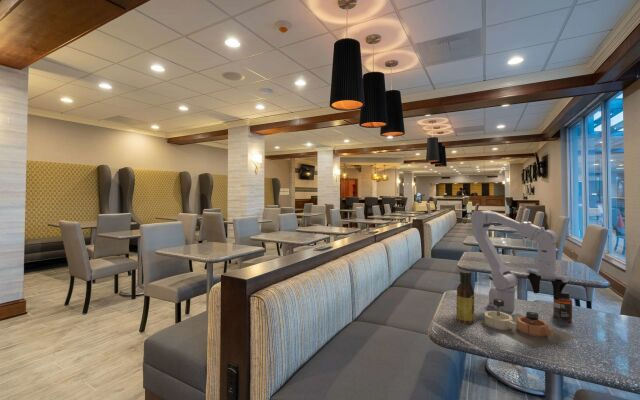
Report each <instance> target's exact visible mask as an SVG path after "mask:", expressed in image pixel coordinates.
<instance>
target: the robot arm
mask: <svg viewBox="0 0 640 400" xmlns="http://www.w3.org/2000/svg"><path fill="white" fill-rule="evenodd" d="M469 221H470V222H471V232H472V235H473V237H474V239H475V241H476V243H477V245H478V247H479V249H480V250H481V252H482V254H483V256H484V258H485V260H486V262H487V263H488V265H489V267H490V269H491V274H490V275H491V278H492V284H493V286H492V287H490V289H489V291H488V306H489V307H493V308H495V309H496V310H497V306H496V305H494V304H493V299H501V300H504V306H500V312H505V313H506V312H510V313H511V312H512V313H513V312H515V307H516V305H515V303H516V302H515V301H516V300H515V299H516V289H515V287H516V286H517V285H518V277H517V276H516V275H515V274H514V273H513V272H512V271H511V269H510V268H509V267H508V266H506V265H505V263H504V261H503V260H502V258H501V257H500V254H499V252H498V251H497V249H496V247H495V246H494V244H493V242H492V239H490V237H489V235H488V233H487V232H488V230H489V228H490V226H491V225H492V224H494V223H497V224H499V225H503V226H505V227H508V228H510V229H513V230H516V233H517V234H518V235H521V236H522V237H525V238H528V239H530V240H532V241H534V242H536V244H537V268H531V267H528V268H526V274H527V275H526V278H527V279H528V281H529V282H530V284H531V287H532V291H533V293H534V294H539V293H540V287H541V286H540V285H541V279H542V277H543V278H547V279H550V280H551V279H552V280H551V281H550V282H551V285H552V292H553V294H552V295H553V298H554V299H555V300H556V299H559V298H560V295H561V292H562V291H564V288H565V286H566V285H567V284H568V283H569V276H566V275H563V274H559V273H557V272H556V270H557V268H556V267H557V265H556V264H557V249H556V248H557V245H556V243H558V241H559V236H558V233H556V232H555V231H554V230H552V229H545V227H544V226H541V227H540V226H538V225H535V224H533V223H532V221H522V222H519V221H517V220H515V219H514V218H513V219H512V218H511V217H508V216H505V215H504V214H501V213H499V212H497V211H493V210H490V209H486V210H476V211H475V210H474V212H473V213H472V215H471V217H470V219H469Z"/></svg>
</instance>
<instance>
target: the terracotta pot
mask: <svg viewBox="0 0 640 400" xmlns="http://www.w3.org/2000/svg"><path fill="white" fill-rule="evenodd" d="M530 320H531V319H529V318H527V317H526V315H523V316H521V317H517V329H518V330H519V331H521V332H523V333H525V334H528V335H532V336H539V337H543V336H546V335H548V336H550V337H552V336H553V330H552V329H550V328H548V326H549V324H548V322H547V321H545V320H542V319H540V318H538V320H534V325H530Z"/></svg>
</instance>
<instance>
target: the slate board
mask: <svg viewBox="0 0 640 400" xmlns="http://www.w3.org/2000/svg"><path fill="white" fill-rule="evenodd" d="M510 315H511V316H512V319H513V322H514V323H516V330H513V329H509V330H501V329H496V328H492V327H490V326H488V325H486V324H485V320H484V319H481V320H480V319H479V320H477V322H478V323H480V324H482V325H484V326H485V327H488V328H491V329H492V330H494V331H496V332H499V333H500V334H502V335H505V336H507V337H509V338H511V339H513V340H515V341H517V342H519V343H521V344H523V345H525V346H527V347H529V348H531V349H537V348H540V347H544V346H546V347H547V346H549V345H553V344H558V343H562V342H566V341H570V340H574V339H578V338H579V337H577V336H575V335H573V334H570V333H567V332H565V331H562V330H560V329H558V328H554V327H553V326H550V325H548V328H550V329H552V330H553V336H552V337H550V336H548V335H546V336H543V337H539V336H532V335H528V334H525V333H523V332H521V331H519V330H518V329H517V317H521V316H524V315H522V314H519V313H514V314H510Z"/></svg>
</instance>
